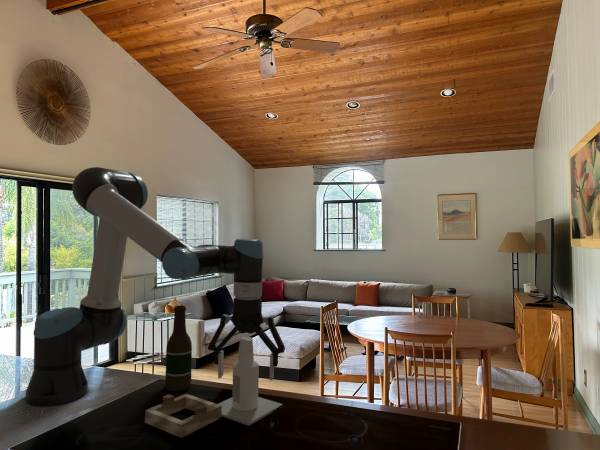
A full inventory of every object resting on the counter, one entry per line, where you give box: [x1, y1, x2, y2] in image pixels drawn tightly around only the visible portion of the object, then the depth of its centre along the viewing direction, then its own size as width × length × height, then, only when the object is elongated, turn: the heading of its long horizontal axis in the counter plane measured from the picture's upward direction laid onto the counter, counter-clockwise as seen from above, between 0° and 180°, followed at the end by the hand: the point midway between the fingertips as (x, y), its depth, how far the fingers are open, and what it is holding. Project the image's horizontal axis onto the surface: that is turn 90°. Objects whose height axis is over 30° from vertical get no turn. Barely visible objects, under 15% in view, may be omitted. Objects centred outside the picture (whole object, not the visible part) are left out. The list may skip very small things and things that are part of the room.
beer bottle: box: [164, 305, 193, 392], centre depth 130 cm, size 8×8×24 cm
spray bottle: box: [231, 336, 260, 411], centre depth 116 cm, size 7×7×18 cm
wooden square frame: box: [144, 393, 223, 439], centre depth 109 cm, size 14×13×4 cm
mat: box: [217, 396, 283, 426], centre depth 116 cm, size 14×14×1 cm
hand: (246, 377), depth 116 cm, fingers open, 13 cm apart
